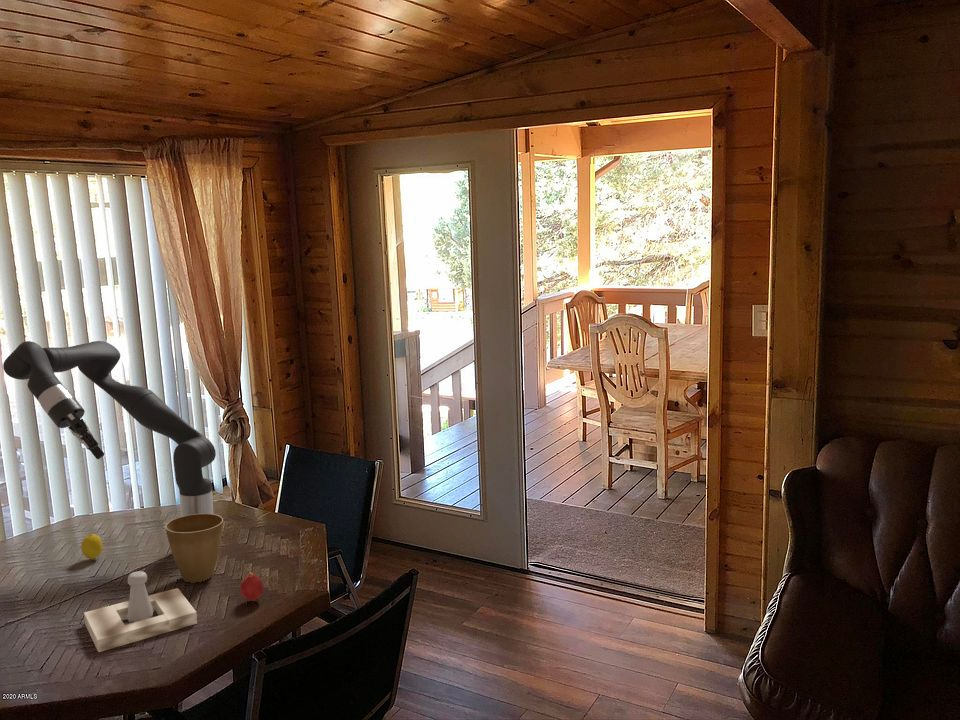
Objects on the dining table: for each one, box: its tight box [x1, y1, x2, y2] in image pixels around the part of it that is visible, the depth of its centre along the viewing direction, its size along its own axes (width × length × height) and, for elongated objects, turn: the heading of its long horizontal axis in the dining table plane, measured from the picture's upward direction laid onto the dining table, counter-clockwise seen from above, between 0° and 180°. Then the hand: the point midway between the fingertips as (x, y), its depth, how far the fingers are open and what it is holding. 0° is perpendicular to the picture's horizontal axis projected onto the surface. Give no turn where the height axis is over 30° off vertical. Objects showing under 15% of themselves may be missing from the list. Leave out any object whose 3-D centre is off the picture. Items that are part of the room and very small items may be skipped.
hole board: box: [83, 587, 198, 653], centre depth 186 cm, size 22×16×3 cm
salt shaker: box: [126, 570, 154, 624], centre depth 186 cm, size 6×6×13 cm
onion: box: [239, 572, 265, 602], centre depth 197 cm, size 6×6×8 cm
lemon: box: [80, 533, 104, 561], centre depth 223 cm, size 6×6×8 cm
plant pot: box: [164, 513, 224, 584], centre depth 211 cm, size 15×15×16 cm
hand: (98, 452), depth 198 cm, fingers open, 8 cm apart
